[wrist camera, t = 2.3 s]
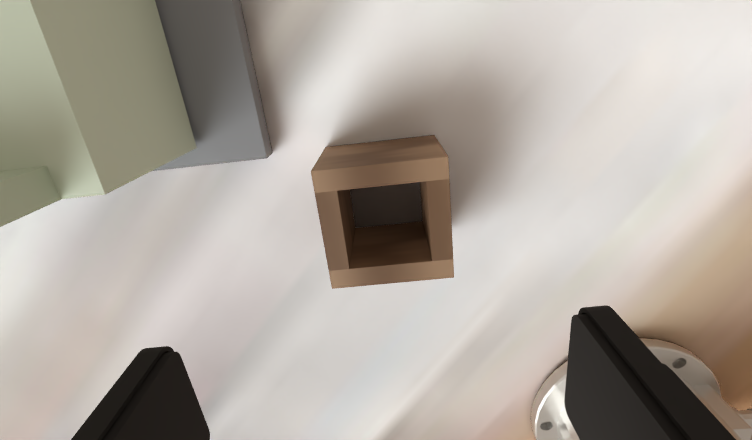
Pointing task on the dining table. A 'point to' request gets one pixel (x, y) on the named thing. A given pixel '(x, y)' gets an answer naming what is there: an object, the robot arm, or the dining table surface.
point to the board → (215, 81)
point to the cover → (83, 100)
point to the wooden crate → (394, 241)
